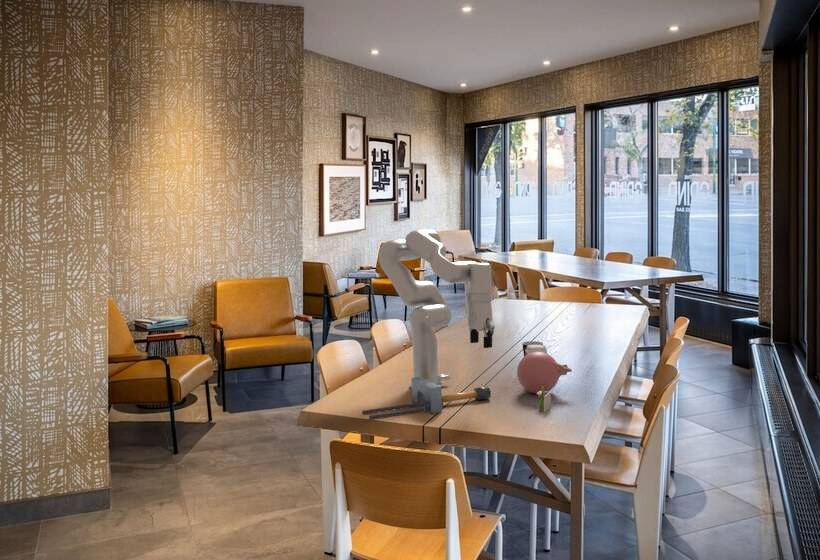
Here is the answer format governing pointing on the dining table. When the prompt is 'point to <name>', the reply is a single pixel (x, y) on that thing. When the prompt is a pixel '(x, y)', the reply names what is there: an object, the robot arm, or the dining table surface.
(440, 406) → the housing
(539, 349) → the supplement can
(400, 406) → the guide
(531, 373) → the pink bulb shape
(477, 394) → the hammer
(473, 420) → the dining table surface
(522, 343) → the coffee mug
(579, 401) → the dining table surface
